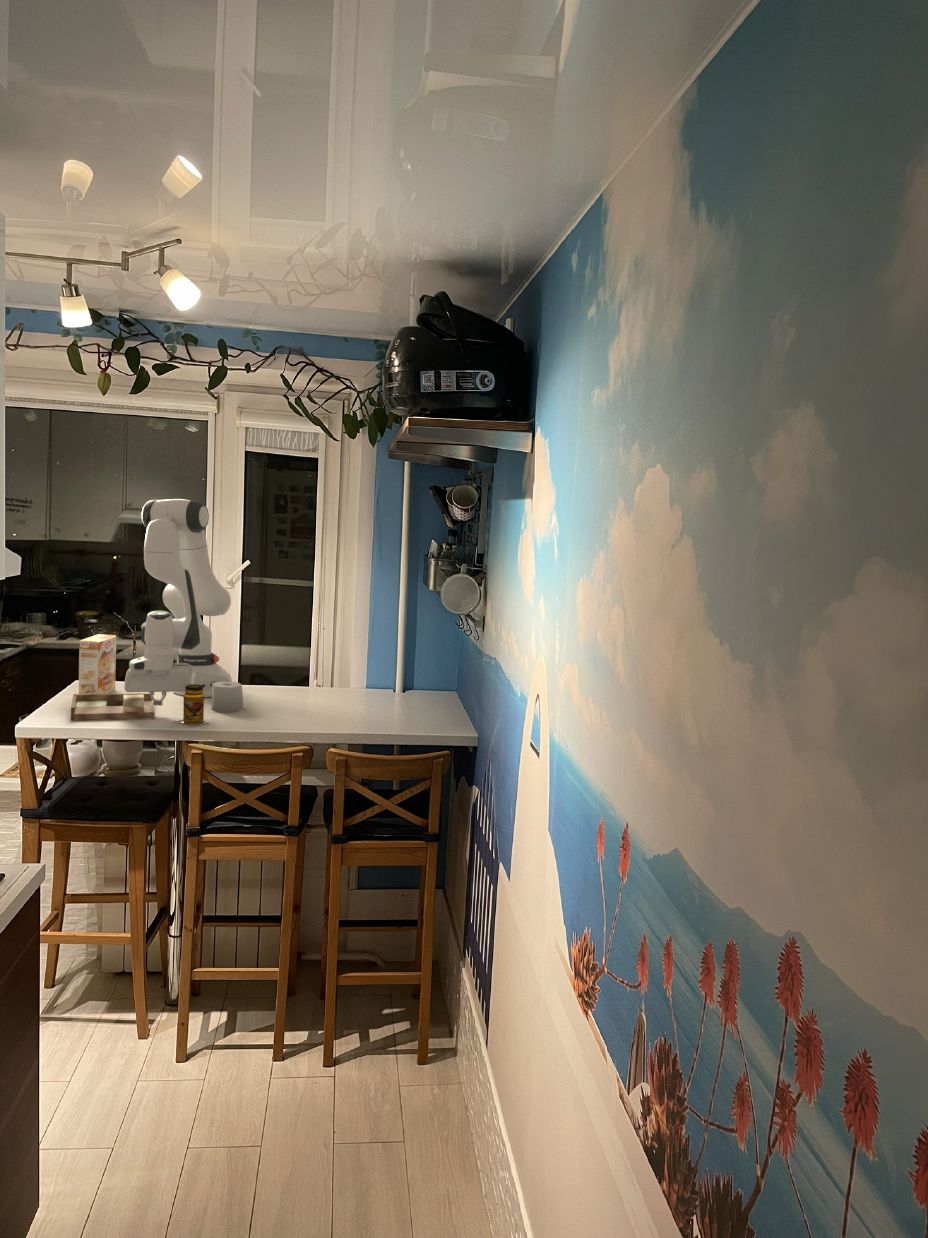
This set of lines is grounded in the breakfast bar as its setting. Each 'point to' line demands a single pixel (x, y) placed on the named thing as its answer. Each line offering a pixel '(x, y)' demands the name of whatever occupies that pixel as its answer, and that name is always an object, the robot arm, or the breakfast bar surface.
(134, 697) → the block
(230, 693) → the toilet tissue
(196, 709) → the condiment
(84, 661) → the coffeecake box
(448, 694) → the breakfast bar surface
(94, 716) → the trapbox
